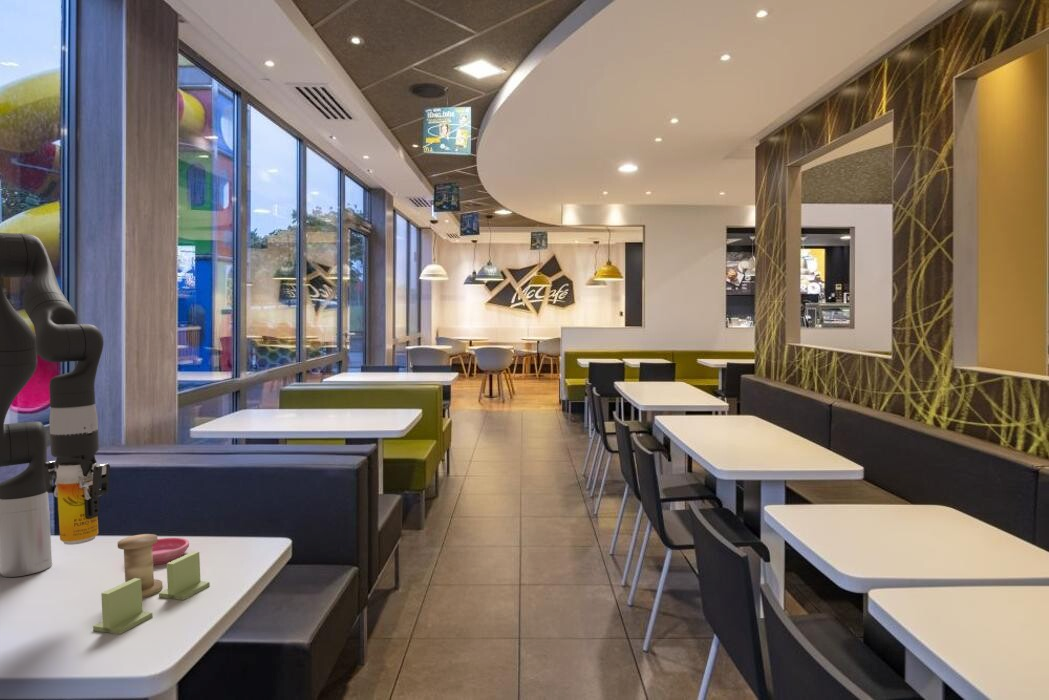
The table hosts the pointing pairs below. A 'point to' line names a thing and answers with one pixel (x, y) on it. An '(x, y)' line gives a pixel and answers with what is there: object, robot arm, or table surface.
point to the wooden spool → (140, 562)
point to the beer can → (74, 506)
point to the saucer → (168, 549)
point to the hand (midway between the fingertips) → (78, 516)
